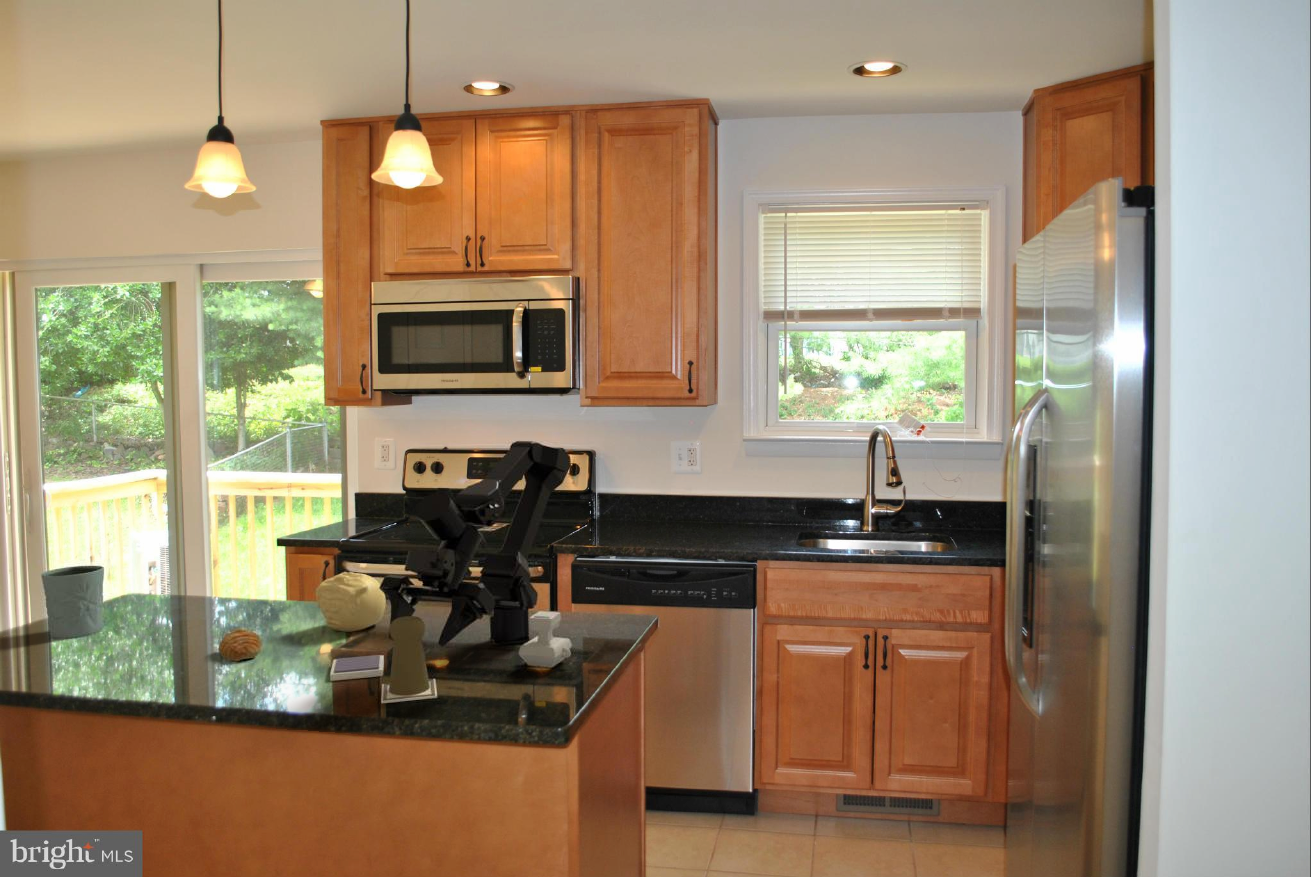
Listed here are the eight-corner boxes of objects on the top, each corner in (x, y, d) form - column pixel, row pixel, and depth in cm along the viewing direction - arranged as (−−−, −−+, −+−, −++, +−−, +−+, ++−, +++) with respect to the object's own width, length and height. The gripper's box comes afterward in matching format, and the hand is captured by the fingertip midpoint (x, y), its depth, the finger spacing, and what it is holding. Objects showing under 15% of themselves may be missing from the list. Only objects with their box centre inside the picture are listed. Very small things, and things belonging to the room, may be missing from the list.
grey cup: (48, 643, 171) (44, 578, 171) (42, 631, 179) (38, 569, 178) (111, 632, 178) (108, 570, 177) (102, 622, 186) (99, 562, 185)
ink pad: (383, 661, 158) (383, 653, 158) (382, 675, 150) (382, 667, 150) (333, 665, 156) (333, 658, 156) (330, 680, 148) (330, 672, 148)
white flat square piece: (435, 680, 147) (435, 678, 147) (437, 697, 140) (436, 695, 140) (382, 685, 145) (382, 683, 145) (381, 703, 138) (381, 700, 138)
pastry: (267, 659, 161) (266, 637, 160) (224, 666, 157) (223, 644, 157) (257, 646, 168) (256, 625, 168) (216, 652, 165) (215, 631, 165)
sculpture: (307, 630, 177) (305, 574, 176) (358, 616, 187) (356, 563, 187) (348, 639, 171) (346, 581, 170) (398, 623, 181) (396, 568, 181)
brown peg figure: (427, 694, 140) (425, 622, 139) (386, 696, 139) (383, 624, 138) (431, 680, 146) (429, 611, 145) (391, 682, 145) (389, 613, 144)
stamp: (512, 668, 153) (511, 617, 153) (530, 656, 159) (529, 607, 159) (562, 673, 150) (561, 621, 150) (579, 660, 157) (577, 611, 156)
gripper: (383, 525, 151) (339, 610, 142) (482, 531, 143) (442, 621, 134) (416, 563, 159) (376, 646, 149) (511, 571, 151) (475, 658, 142)
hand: (415, 642), depth 144 cm, fingers open, 9 cm apart
